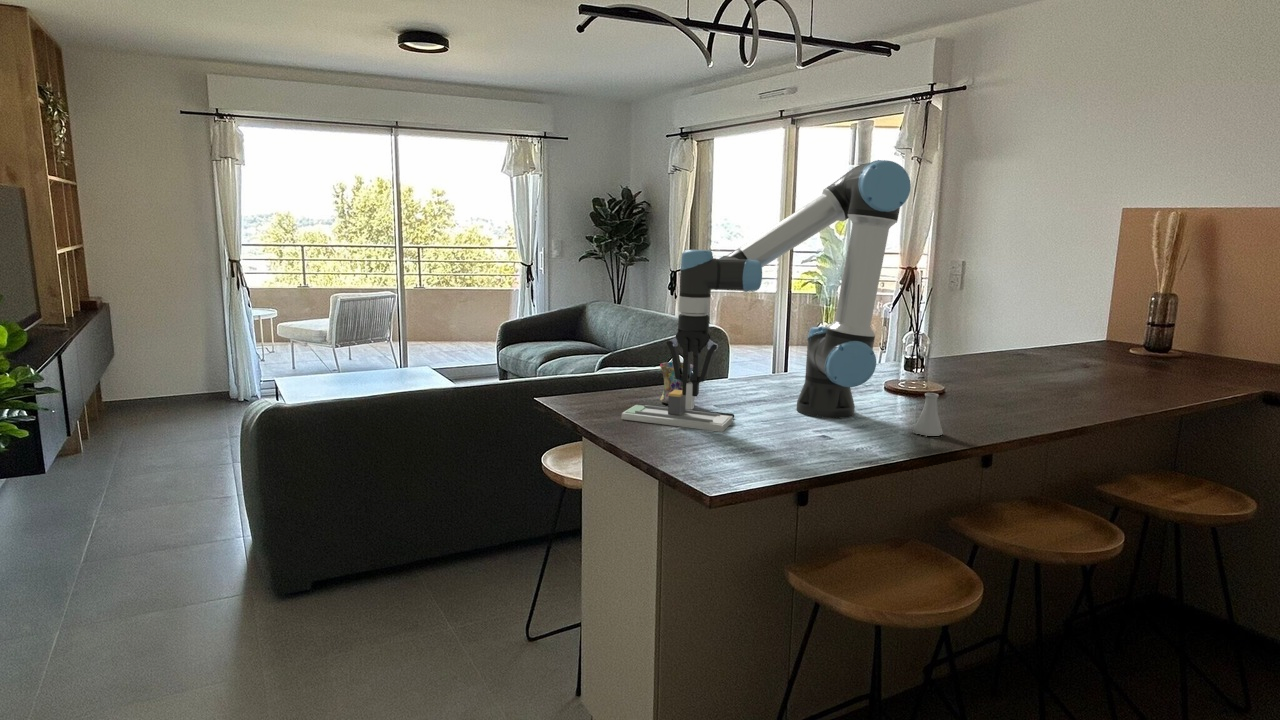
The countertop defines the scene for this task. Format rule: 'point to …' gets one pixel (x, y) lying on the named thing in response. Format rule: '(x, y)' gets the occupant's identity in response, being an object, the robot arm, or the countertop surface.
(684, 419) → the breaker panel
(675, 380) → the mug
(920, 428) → the flask
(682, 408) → the block
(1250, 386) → the countertop surface
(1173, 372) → the countertop surface
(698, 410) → the cable
